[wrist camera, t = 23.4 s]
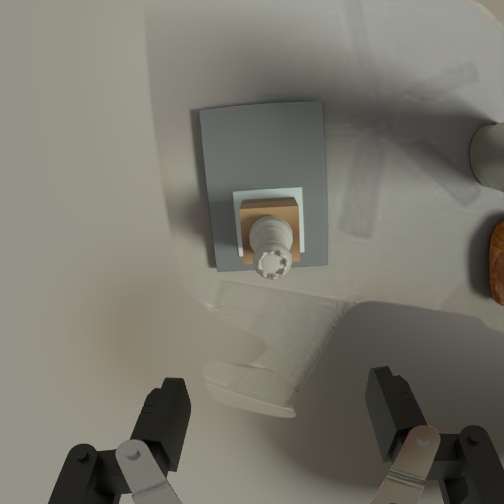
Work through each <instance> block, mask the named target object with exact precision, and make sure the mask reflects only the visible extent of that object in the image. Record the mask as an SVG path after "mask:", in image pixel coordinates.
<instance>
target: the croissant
mask: <svg viewBox="0 0 504 504" xmlns="http://www.w3.org/2000/svg"><path fill="white" fill-rule="evenodd" d="M489 273H490V290H491V293H492V297H493V299H494V301H495V302H496V303H498V304H500V305H502V306H504V221H503V222H501V223H500V224H498V225H497V226H496V228H495V229H494V231H493V233H492V235H491V243H490V248H489Z"/></svg>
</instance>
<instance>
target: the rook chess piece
mask: <svg viewBox="0 0 504 504" xmlns="http://www.w3.org/2000/svg"><path fill="white" fill-rule="evenodd" d="M249 239H250V246H251V247H252V249H253V251H254V256H253V267H254V268H255V270H256V271H257V273H258V274H260V275H261V276H263V277H264V278H269V279H271V280H274V279H277V278H279V277H281V276H283V275H285V274H286V273H287V272H288V271H289V270H290V267H291V264H292V255H291V253H290V252H289V250H290V248H291V245H292V242H293V235H292V229H291V228H290V226H289V224H288V223H287V222H286V221H285V220H283V219H282V218H280V217H277V216H264V217H262V218H260V219H259V220H257V221H256V222H255V223H254V224H253V226H252V227H251V230H250V234H249Z"/></svg>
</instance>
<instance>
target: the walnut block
mask: <svg viewBox="0 0 504 504" xmlns="http://www.w3.org/2000/svg"><path fill="white" fill-rule="evenodd" d="M239 213H240V225H241V236H242V247H243V259H244V264H253V256H254V251H253V249H252V247H251V246H250V239H249V234H250V230H251V227H252V226H253V224H254V223H255V222H256V221H257V220H259V219H260V218H262V217H264V216H277V217H280V218H282V219H283V220H285V221H286V222H287V223H288V224H289V226H290V228H291V229H292V235H293V242H292V245H291V248H290V250H289V252H290V253H291V255H292V262H296V261H300V231H299V206H298V204H297V202H296V200H295V197H283V198H265V199H249V200H242V203H241V206H240V208H239Z"/></svg>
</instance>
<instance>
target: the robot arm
mask: <svg viewBox="0 0 504 504" xmlns="http://www.w3.org/2000/svg"><path fill="white" fill-rule="evenodd" d="M470 162H471V167H472V170H473V172H474V175H475V176H476V178H477V179H478V181H479V182H480V183H481V184H483V185H485V186H486V187H490V188H493V189H495V190H498V191H501V192H504V123H496V125H486V126H483V127H481V128H479V130H478V131H477V132H476V133H475V135H474V136H473V139H472V142H471V146H470ZM365 400H366V406H367V409H368V412H369V416H370V419H371V422H372V425H373V429H374V432H375V435H376V439H377V442H378V446H379V449H380V453H381V456H382V460H383V462H388V461H391V462H392V465H393V466H392V468H391V470H390V471H389V473H388V475H387V476H386V478H385V480H384V482H383V483H382V485H381V487H380V489H379V490H378V492H377V494H376V496H375V497H374V499H373V500H372V502H371V504H416V503H417V502H418V499H419V497H420V495H421V493H422V491H423V489H424V486H425V480H438V482H439V486H440V489H441V493H442V497H443V501H444V504H504V469H503V467H502V464H501V462H500V460H499V458H498V455H497V453H496V451H495V448H494V446H493V444H492V442H491V439H490V437H489V435H488V433H487V432H486V430H485V429H484V428H482V427H480V426H476V425H471V426H467V427H465V428H464V429H463V430H462V431H461V432H460V434H440V433H439V432H438V431H437V430H436V429H435V428H433V427H431V426H428V425H427V423H426V421H425V419H424V416H423V414H422V412H421V410H420V408H419V405H418V404H417V401H416V399H415V397H414V395H413V393H412V391H411V388H410V386H409V384H408V382H407V381H405V380H404V379H403V378H402V377H401V376H400V375H398V376H393V375H392V373H391V371H390V369H389V367H388V366H382V367H376V368H371V369H370V372H369V378H368V383H367V388H366V393H365ZM190 414H191V402H190V399H189V395H188V392H187V389H186V385H185V382H184V379H183V378H165V379H164V382H163V384H162V387H161V389H160V388H155V389H153V390H152V391H151V392H150V394H148V396H147V398H146V400H145V403H144V406H143V407H142V410H141V414H140V415H139V417H138V420H137V422H136V425H135V427H134V430H133V433H132V435H131V438H130V440H128V441H125V442H123V443H121V444H120V445H119V446H118V448H117V449H115V450H106V451H96V449H95V448H94V447H93V446H91V445H89V444H79V445H77V446H74V447H73V448H72V449H71V450H70V451H69V453H68V455H67V458H66V460H65V462H64V465H63V467H62V470H61V472H60V474H59V477H58V479H57V482H56V484H55V487H54V489H53V492H52V495H51V497H50V500H49V502H48V504H119V500H120V497H121V494H128V493H132V494H133V495H132V499H133V501H134V503H135V504H182V502H181V501H180V499H179V498H178V497H177V495H176V493H175V492H174V490H173V488H172V487H171V485H170V484H169V482H168V480H167V479H166V478H167V474H168V471H173V472H176V471H177V468H178V464H179V459H180V455H181V451H182V446H183V443H184V439H185V435H186V431H187V427H188V422H189V418H190Z"/></svg>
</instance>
